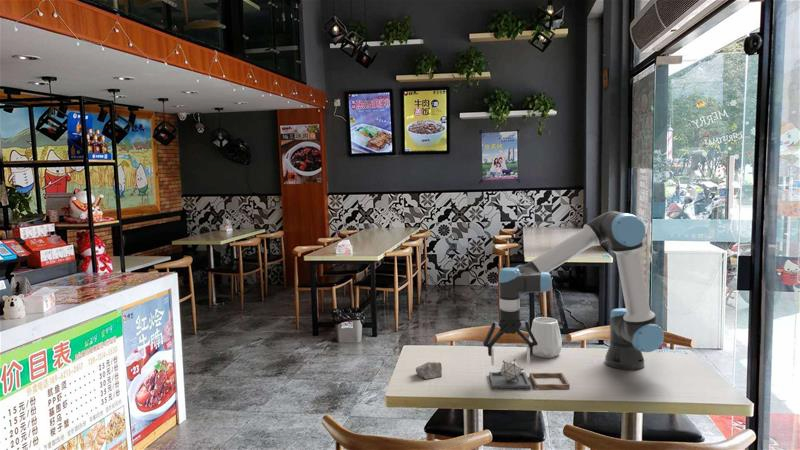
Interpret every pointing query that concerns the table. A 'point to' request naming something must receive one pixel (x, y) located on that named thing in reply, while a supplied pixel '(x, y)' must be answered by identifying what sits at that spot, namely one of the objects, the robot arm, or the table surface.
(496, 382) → the tray
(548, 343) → the vase
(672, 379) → the table surface
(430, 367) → the stone
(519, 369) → the game die
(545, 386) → the corral
